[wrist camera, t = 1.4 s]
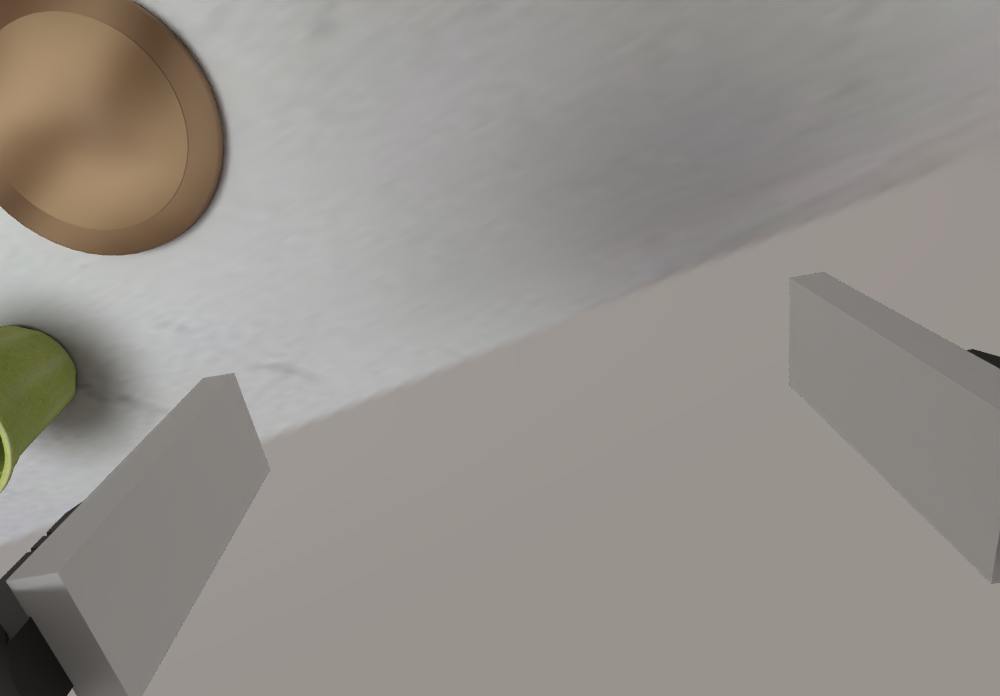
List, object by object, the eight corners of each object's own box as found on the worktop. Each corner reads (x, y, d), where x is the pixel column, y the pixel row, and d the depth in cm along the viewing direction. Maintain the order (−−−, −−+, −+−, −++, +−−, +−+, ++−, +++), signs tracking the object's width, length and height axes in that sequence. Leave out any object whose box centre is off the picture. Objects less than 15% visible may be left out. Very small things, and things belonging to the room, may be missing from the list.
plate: (-85, 137, 35) (-102, 138, 34) (32, -88, 31) (17, -94, 30) (143, 298, 38) (133, 303, 37) (273, 114, 34) (266, 115, 33)
